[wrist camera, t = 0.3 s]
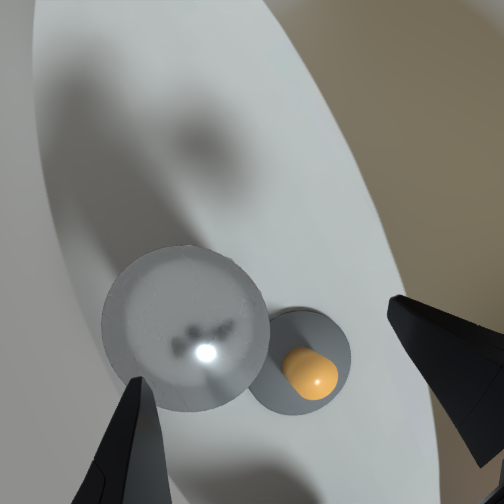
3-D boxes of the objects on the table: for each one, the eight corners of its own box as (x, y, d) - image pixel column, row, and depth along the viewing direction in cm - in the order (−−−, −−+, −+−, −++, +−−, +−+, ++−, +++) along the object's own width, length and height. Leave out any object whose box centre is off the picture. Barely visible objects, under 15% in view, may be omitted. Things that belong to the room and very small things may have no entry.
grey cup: (259, 312, 24) (304, 336, 13) (194, 370, 23) (183, 440, 11) (199, 246, 24) (190, 210, 13) (134, 304, 23) (71, 320, 11)
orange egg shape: (326, 364, 24) (346, 377, 20) (298, 391, 24) (313, 408, 20) (302, 338, 24) (319, 348, 20) (273, 366, 24) (285, 380, 20)
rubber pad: (366, 360, 25) (369, 361, 25) (292, 431, 24) (294, 433, 23) (303, 287, 25) (305, 288, 25) (221, 363, 24) (221, 365, 23)
